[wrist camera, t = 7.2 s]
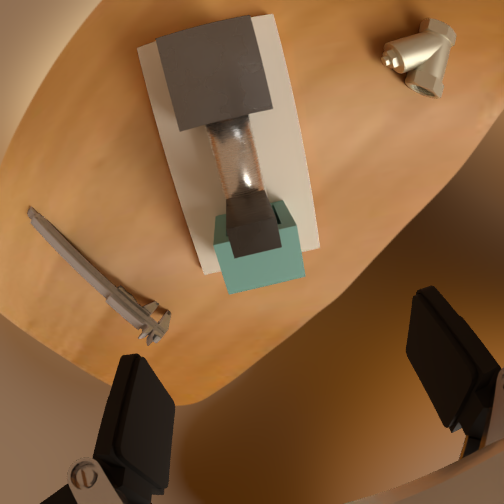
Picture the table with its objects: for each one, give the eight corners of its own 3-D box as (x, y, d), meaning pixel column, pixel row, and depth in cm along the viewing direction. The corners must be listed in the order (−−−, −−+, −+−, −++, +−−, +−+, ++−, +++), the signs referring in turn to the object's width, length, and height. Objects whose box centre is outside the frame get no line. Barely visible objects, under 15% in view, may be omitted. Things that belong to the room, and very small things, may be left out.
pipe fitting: (371, 69, 25) (425, 98, 26) (387, 65, 21) (445, 99, 22) (389, 7, 22) (441, 38, 22) (405, -3, 18) (461, 33, 19)
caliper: (172, 310, 35) (165, 347, 30) (167, 315, 35) (159, 353, 30) (32, 205, 28) (1, 227, 22) (28, 212, 28) (-2, 236, 22)
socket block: (282, 200, 29) (296, 225, 23) (291, 243, 31) (305, 276, 25) (215, 216, 29) (213, 245, 23) (228, 258, 31) (228, 294, 26)
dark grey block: (244, 33, 22) (250, 14, 16) (263, 107, 25) (273, 108, 19) (170, 52, 22) (155, 38, 16) (190, 125, 25) (179, 131, 19)
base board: (271, 16, 22) (273, 14, 21) (317, 243, 32) (320, 247, 31) (139, 49, 22) (136, 47, 21) (204, 269, 33) (204, 275, 32)
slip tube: (241, 88, 23) (248, 80, 15) (276, 240, 29) (295, 298, 21) (200, 98, 23) (185, 96, 15) (240, 249, 29) (246, 309, 21)
